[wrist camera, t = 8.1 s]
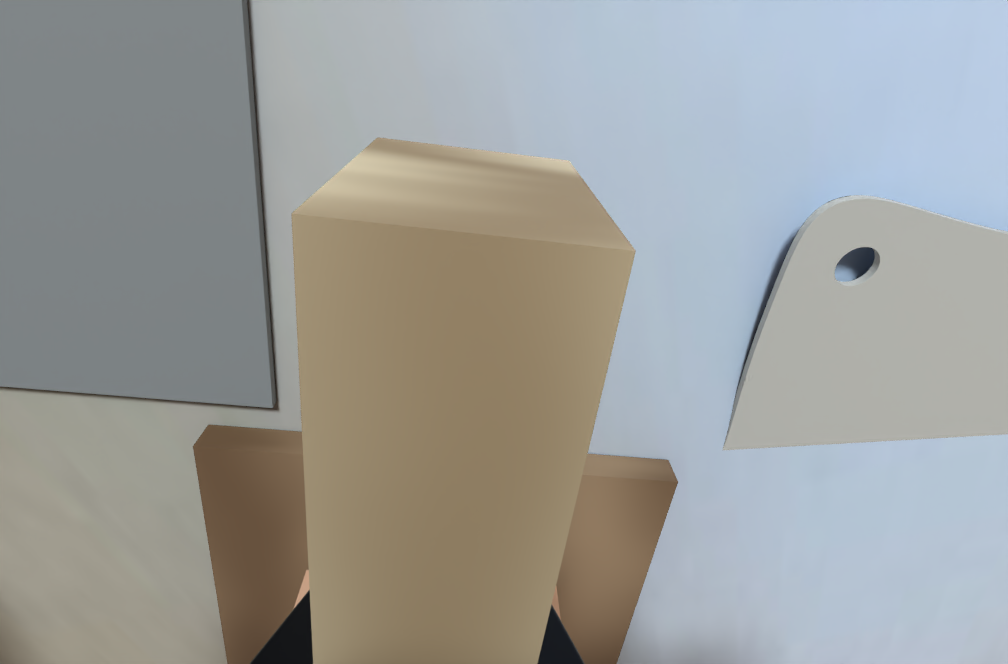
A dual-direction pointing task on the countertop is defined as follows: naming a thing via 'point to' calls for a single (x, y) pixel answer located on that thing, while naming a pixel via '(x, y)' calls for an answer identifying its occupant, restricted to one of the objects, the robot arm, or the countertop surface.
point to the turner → (447, 395)
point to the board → (284, 552)
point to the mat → (132, 202)
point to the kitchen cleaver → (880, 333)
